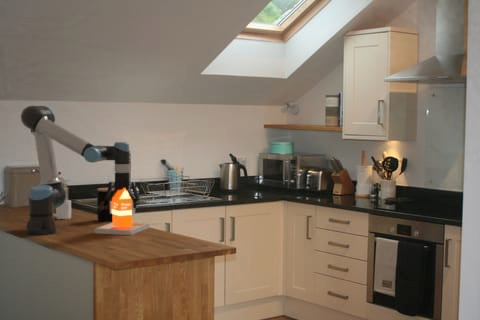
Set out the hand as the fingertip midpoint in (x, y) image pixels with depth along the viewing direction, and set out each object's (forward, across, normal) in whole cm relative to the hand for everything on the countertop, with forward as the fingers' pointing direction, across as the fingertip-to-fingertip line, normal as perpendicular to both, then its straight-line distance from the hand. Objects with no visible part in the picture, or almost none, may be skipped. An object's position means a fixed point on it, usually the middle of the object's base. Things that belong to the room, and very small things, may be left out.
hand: (122, 213), depth 359 cm
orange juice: (+6, 0, 0) cm, 6 cm away
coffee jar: (+9, +22, -28) cm, 37 cm away
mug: (+9, +50, -26) cm, 57 cm away
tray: (+9, 0, 0) cm, 9 cm away
